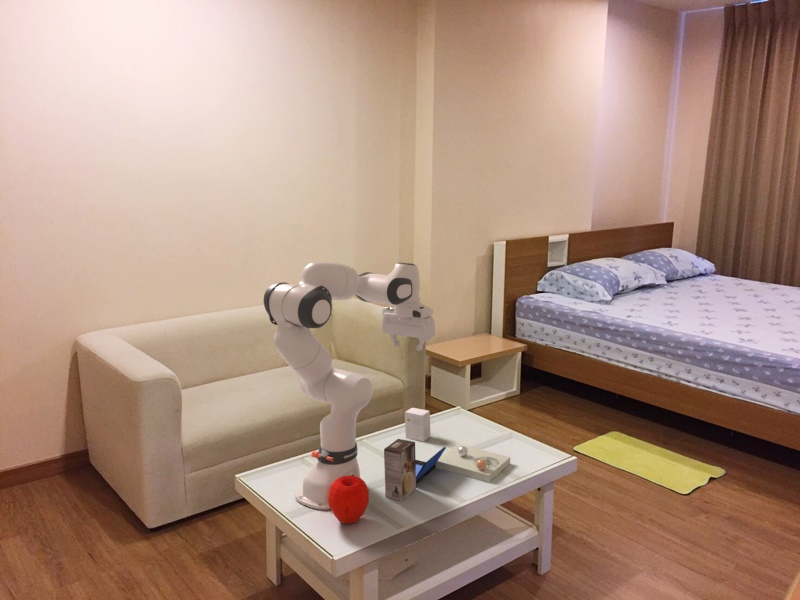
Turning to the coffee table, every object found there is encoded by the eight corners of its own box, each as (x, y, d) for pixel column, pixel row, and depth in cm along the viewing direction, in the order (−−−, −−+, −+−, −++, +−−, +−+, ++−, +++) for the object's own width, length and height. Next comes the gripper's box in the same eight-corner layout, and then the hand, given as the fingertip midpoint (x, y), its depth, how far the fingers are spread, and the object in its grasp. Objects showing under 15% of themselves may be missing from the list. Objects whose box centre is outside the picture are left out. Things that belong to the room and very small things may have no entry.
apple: (341, 537, 177) (340, 492, 174) (321, 519, 186) (319, 476, 183) (377, 523, 183) (376, 480, 181) (355, 506, 193) (354, 465, 190)
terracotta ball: (483, 472, 208) (483, 462, 207) (474, 470, 210) (474, 460, 209) (488, 468, 211) (488, 458, 210) (479, 466, 213) (479, 456, 212)
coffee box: (399, 484, 206) (398, 437, 203) (416, 488, 203) (416, 441, 200) (384, 497, 198) (383, 448, 195) (402, 501, 195) (401, 452, 192)
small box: (430, 437, 243) (430, 410, 241) (423, 442, 238) (423, 415, 236) (412, 432, 247) (412, 406, 245) (405, 437, 242) (404, 411, 240)
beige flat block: (488, 482, 206) (488, 475, 206) (435, 467, 218) (435, 460, 217) (510, 463, 219) (510, 457, 219) (459, 450, 230) (459, 444, 230)
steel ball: (464, 459, 218) (464, 449, 217) (455, 456, 220) (455, 447, 219) (469, 455, 221) (469, 445, 220) (460, 453, 223) (460, 443, 222)
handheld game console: (412, 462, 222) (412, 437, 220) (447, 471, 215) (447, 445, 214) (389, 481, 209) (388, 454, 207) (425, 490, 202) (424, 463, 200)
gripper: (377, 307, 222) (378, 346, 225) (427, 314, 210) (428, 354, 213) (387, 304, 227) (388, 342, 230) (437, 310, 216) (437, 350, 218)
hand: (408, 348), depth 221 cm, fingers open, 8 cm apart
